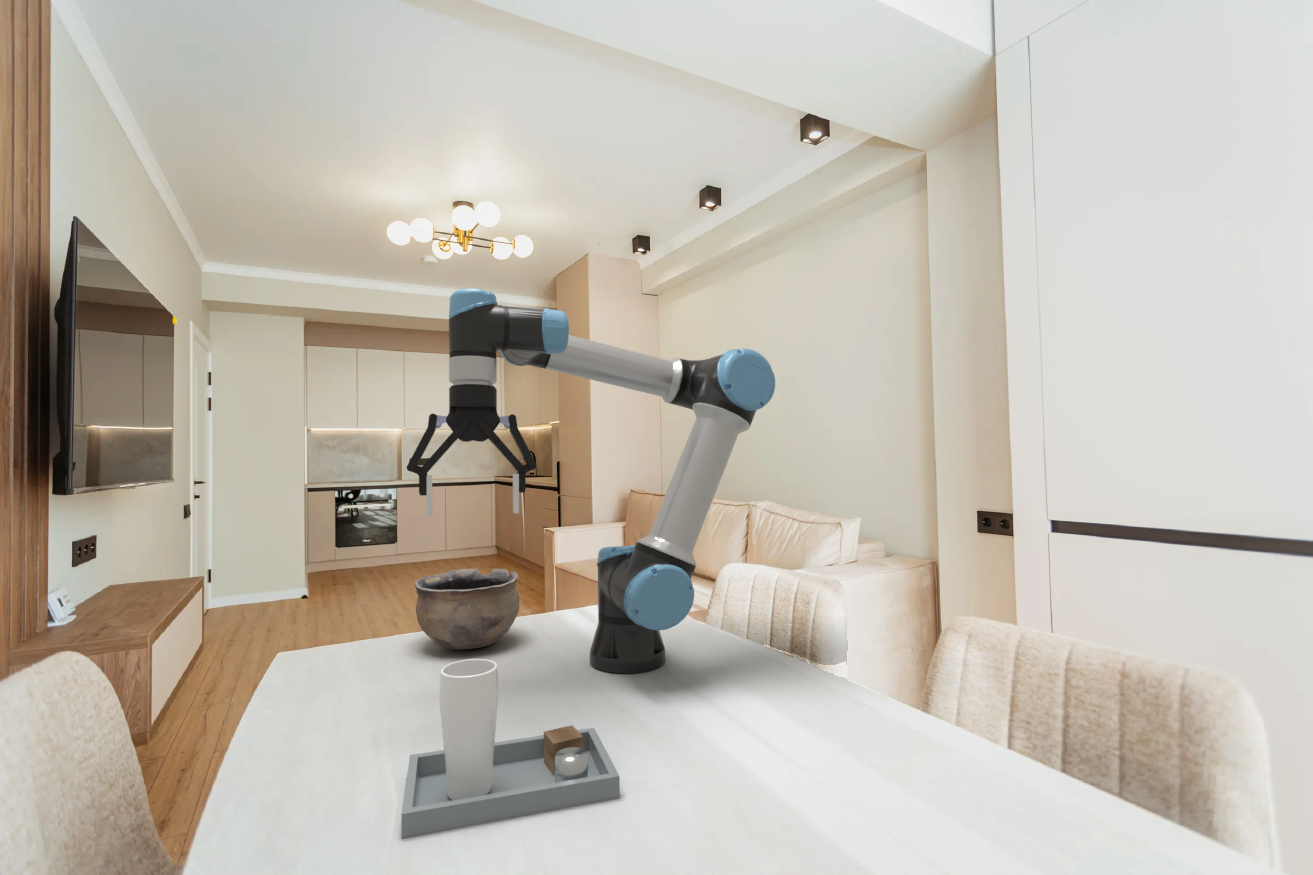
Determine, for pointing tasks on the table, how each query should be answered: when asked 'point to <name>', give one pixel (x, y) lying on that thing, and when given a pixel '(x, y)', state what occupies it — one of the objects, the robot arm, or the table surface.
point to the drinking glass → (469, 725)
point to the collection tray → (504, 786)
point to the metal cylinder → (571, 764)
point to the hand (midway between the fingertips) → (473, 514)
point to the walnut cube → (559, 743)
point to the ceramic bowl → (467, 607)
